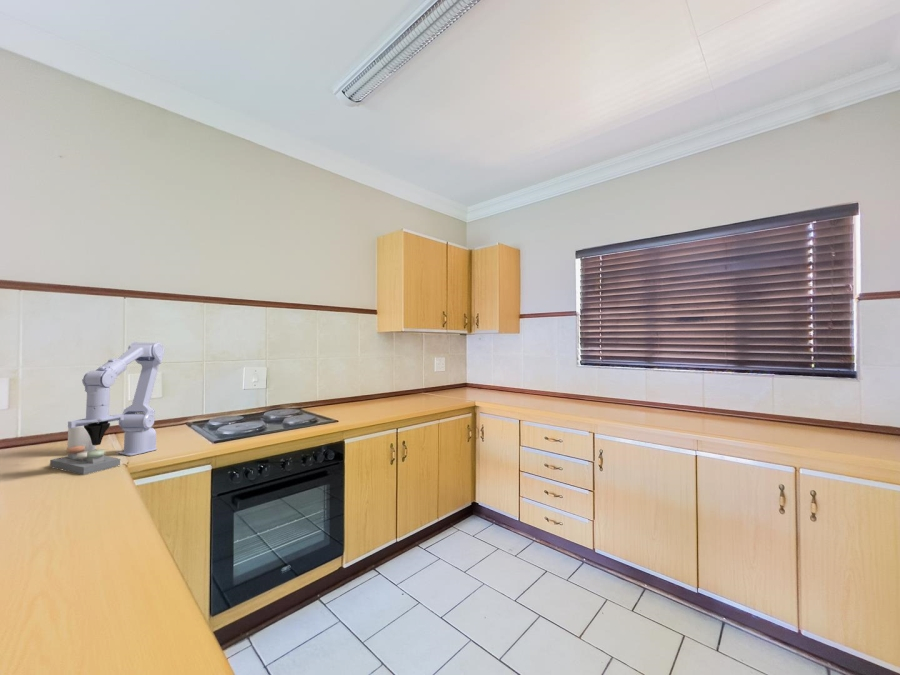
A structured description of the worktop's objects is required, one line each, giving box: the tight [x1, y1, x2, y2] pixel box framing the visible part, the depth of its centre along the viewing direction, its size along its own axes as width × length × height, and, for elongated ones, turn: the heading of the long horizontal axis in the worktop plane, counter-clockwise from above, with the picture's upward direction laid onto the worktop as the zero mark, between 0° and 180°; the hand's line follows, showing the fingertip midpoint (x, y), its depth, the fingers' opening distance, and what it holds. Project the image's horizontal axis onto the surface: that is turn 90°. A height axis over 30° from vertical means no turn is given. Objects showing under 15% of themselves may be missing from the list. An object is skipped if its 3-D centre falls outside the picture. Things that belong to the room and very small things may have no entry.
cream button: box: [77, 451, 89, 461], centre depth 128 cm, size 4×4×4 cm
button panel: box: [49, 455, 121, 476], centre depth 128 cm, size 20×10×2 cm, turn 69°
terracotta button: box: [66, 446, 85, 459], centre depth 130 cm, size 4×4×4 cm
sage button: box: [87, 449, 106, 464], centre depth 126 cm, size 4×4×4 cm
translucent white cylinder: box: [66, 422, 97, 452], centre depth 144 cm, size 8×8×12 cm
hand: (96, 444), depth 126 cm, fingers closed
